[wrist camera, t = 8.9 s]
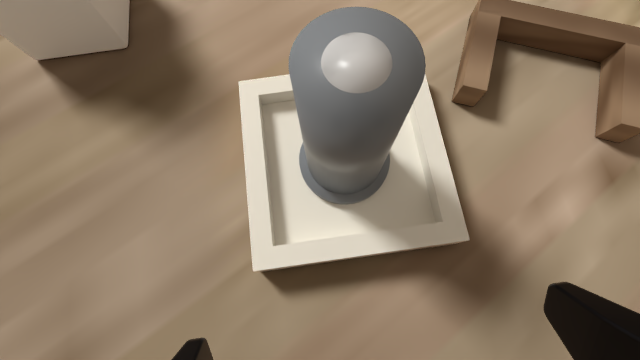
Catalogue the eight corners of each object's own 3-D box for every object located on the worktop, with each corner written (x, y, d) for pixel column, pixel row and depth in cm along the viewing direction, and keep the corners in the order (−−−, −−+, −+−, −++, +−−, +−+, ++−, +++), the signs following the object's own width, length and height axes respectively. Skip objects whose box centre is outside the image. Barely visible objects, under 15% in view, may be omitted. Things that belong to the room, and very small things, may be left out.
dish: (456, 243, 20) (469, 240, 18) (260, 271, 20) (252, 271, 18) (413, 75, 23) (420, 56, 21) (246, 97, 23) (238, 81, 21)
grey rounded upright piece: (406, 173, 20) (476, 81, 11) (331, 222, 19) (332, 171, 10) (355, 106, 22) (375, -28, 12) (283, 149, 21) (244, 42, 11)
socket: (619, 142, 21) (647, 129, 19) (451, 101, 22) (463, 85, 21) (624, 50, 23) (650, 29, 21) (470, 16, 24) (482, -6, 22)
